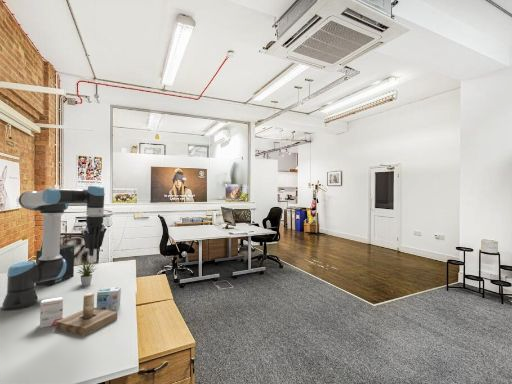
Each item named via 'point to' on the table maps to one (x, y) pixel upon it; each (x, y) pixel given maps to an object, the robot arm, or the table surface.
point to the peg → (88, 306)
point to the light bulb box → (109, 298)
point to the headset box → (68, 255)
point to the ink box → (51, 311)
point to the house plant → (86, 274)
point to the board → (86, 322)
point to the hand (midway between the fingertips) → (93, 261)
